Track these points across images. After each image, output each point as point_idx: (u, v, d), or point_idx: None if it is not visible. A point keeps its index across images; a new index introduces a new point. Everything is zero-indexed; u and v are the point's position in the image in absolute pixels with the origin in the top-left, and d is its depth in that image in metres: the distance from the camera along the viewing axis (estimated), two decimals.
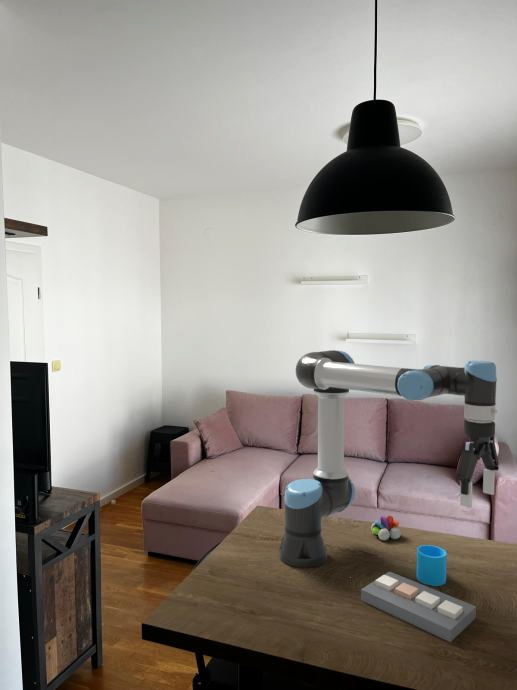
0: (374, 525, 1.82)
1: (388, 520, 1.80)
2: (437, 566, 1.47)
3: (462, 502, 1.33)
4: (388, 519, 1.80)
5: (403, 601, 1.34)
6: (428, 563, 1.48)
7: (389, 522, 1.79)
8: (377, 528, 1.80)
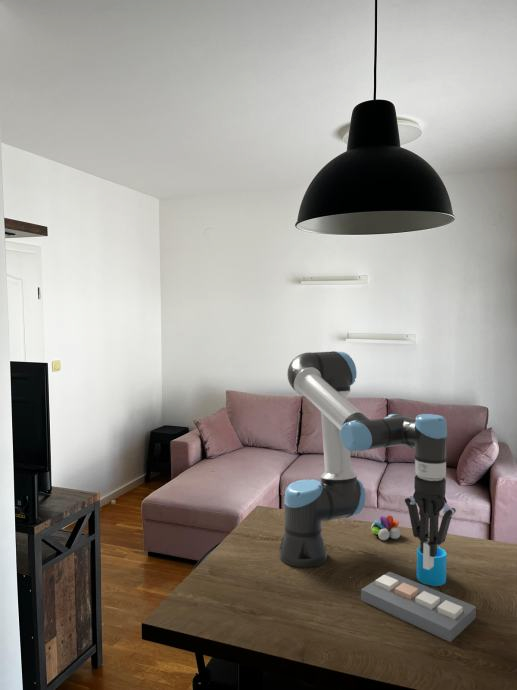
0: (374, 525, 1.82)
1: (388, 520, 1.80)
2: (437, 566, 1.47)
3: None
4: (388, 519, 1.81)
5: (403, 601, 1.34)
6: None
7: (389, 522, 1.79)
8: (376, 528, 1.80)
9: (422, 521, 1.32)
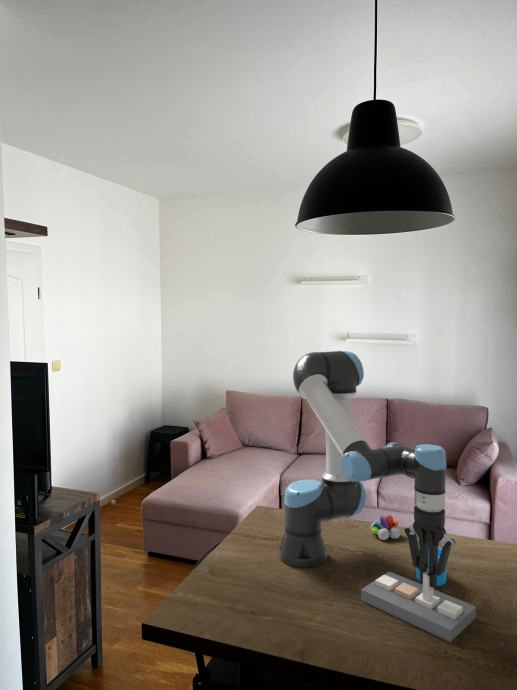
0: (374, 525, 1.82)
1: (388, 520, 1.80)
2: None
3: None
4: (388, 519, 1.81)
5: (403, 601, 1.34)
6: (428, 563, 1.48)
7: (389, 522, 1.79)
8: (376, 528, 1.80)
9: (422, 551, 1.33)
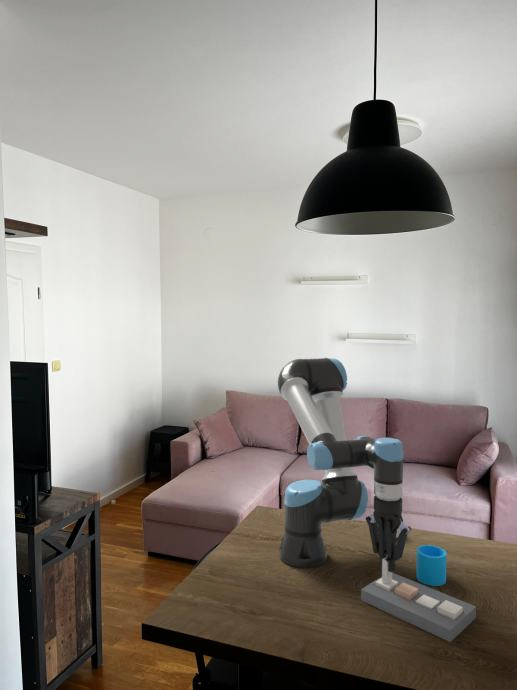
0: None
1: None
2: (437, 566, 1.47)
3: None
4: None
5: (403, 601, 1.34)
6: (428, 563, 1.48)
7: None
8: None
9: (381, 538, 1.41)
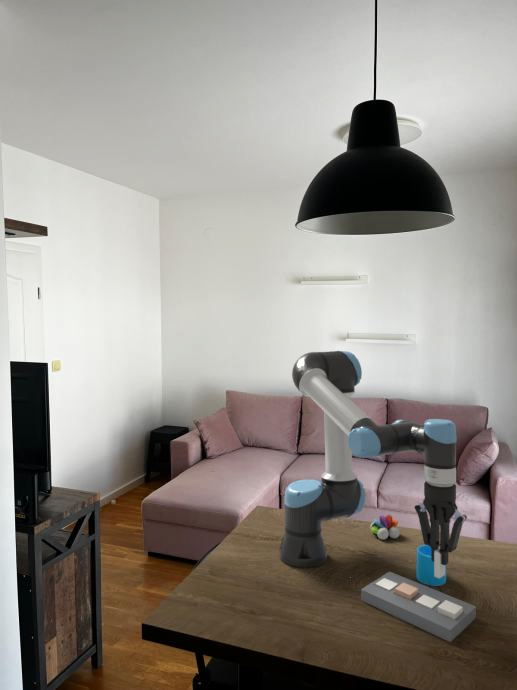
0: (373, 524, 1.83)
1: (387, 519, 1.81)
2: None
3: None
4: (387, 518, 1.81)
5: (403, 601, 1.34)
6: (428, 563, 1.48)
7: (388, 521, 1.80)
8: (376, 528, 1.80)
9: (433, 528, 1.30)
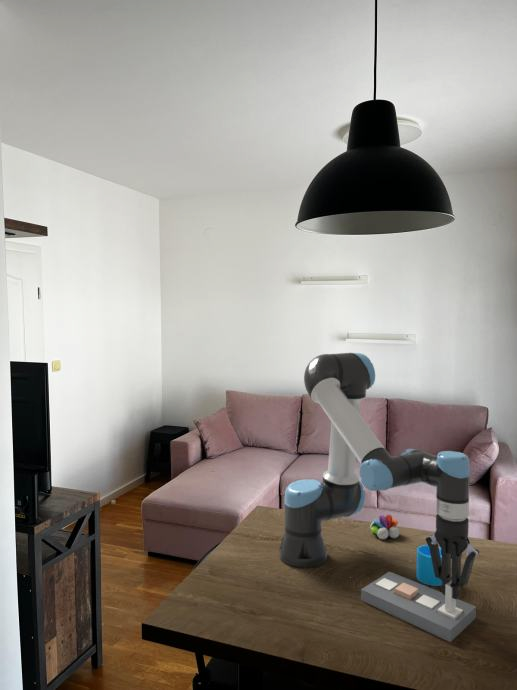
0: (373, 524, 1.83)
1: (387, 519, 1.81)
2: None
3: None
4: (387, 518, 1.81)
5: (403, 601, 1.34)
6: (428, 563, 1.48)
7: (388, 521, 1.80)
8: (375, 527, 1.80)
9: (444, 562, 1.29)
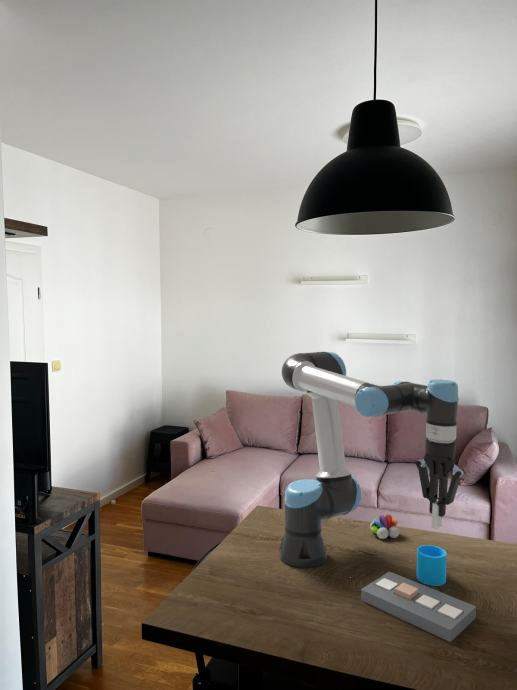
0: (373, 524, 1.83)
1: (387, 519, 1.81)
2: (437, 566, 1.47)
3: None
4: (387, 518, 1.81)
5: (403, 601, 1.34)
6: (428, 563, 1.48)
7: (388, 521, 1.80)
8: (375, 527, 1.81)
9: (432, 482, 1.37)
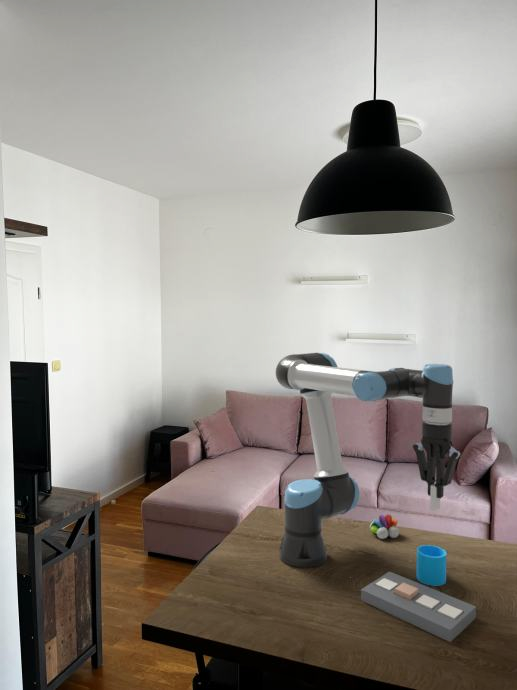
0: (373, 524, 1.83)
1: (387, 519, 1.81)
2: (437, 566, 1.47)
3: None
4: (387, 518, 1.82)
5: (403, 601, 1.34)
6: (428, 563, 1.48)
7: (388, 521, 1.80)
8: (375, 527, 1.81)
9: (429, 465, 1.40)
